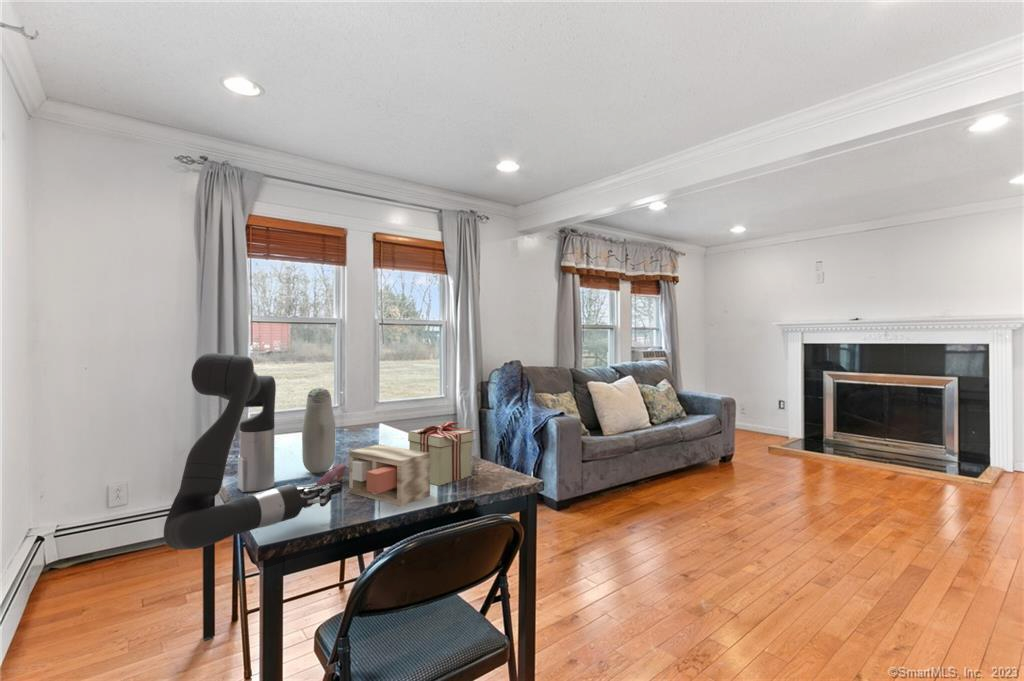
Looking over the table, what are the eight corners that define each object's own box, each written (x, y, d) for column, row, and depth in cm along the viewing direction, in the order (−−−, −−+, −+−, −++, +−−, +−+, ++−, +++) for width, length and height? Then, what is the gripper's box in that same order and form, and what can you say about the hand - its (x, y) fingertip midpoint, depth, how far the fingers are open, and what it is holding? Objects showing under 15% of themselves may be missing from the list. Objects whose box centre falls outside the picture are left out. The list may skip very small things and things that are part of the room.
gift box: (450, 489, 144) (450, 430, 144) (404, 479, 154) (405, 425, 154) (484, 475, 159) (484, 422, 159) (440, 467, 169) (440, 418, 169)
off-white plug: (361, 481, 136) (361, 463, 136) (352, 479, 138) (352, 461, 138) (383, 474, 143) (383, 457, 143) (374, 472, 145) (374, 456, 145)
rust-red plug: (376, 493, 125) (377, 474, 125) (366, 490, 128) (366, 471, 128) (400, 485, 132) (400, 467, 132) (389, 483, 134) (389, 465, 134)
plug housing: (401, 506, 129) (401, 460, 129) (349, 492, 141) (349, 451, 141) (429, 495, 138) (430, 453, 138) (379, 483, 150) (379, 444, 150)
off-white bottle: (297, 472, 163) (297, 388, 163) (327, 466, 170) (327, 386, 170) (309, 478, 156) (309, 390, 156) (340, 472, 163) (340, 388, 163)
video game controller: (326, 493, 145) (336, 473, 144) (314, 486, 145) (323, 465, 145) (344, 484, 154) (353, 465, 154) (332, 477, 155) (341, 457, 155)
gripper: (290, 494, 104) (357, 475, 118) (257, 484, 111) (323, 468, 126) (290, 529, 104) (357, 507, 118) (257, 517, 111) (323, 497, 126)
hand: (339, 487), depth 122 cm, fingers closed
